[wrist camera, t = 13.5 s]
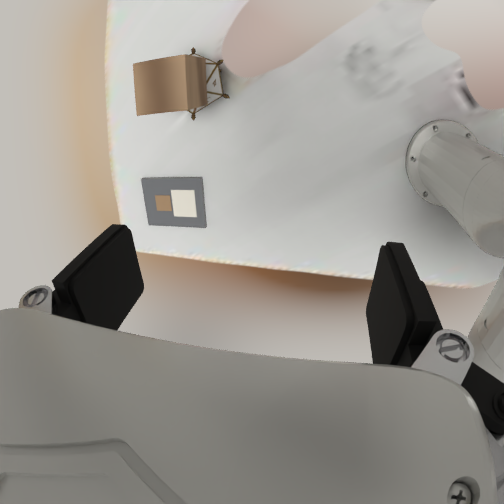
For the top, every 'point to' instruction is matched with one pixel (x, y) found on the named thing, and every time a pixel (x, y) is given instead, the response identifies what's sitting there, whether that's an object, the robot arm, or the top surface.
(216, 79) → the game die
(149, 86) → the walnut block
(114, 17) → the top surface
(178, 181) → the card
